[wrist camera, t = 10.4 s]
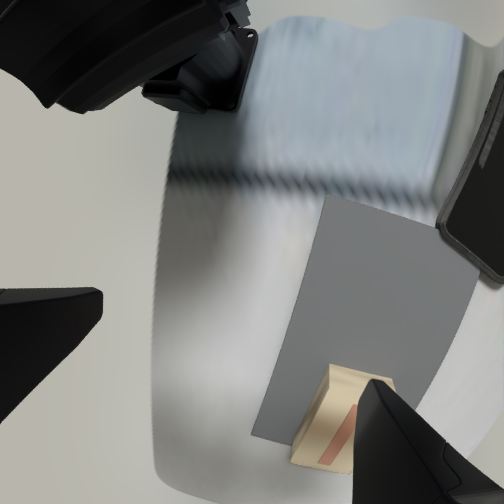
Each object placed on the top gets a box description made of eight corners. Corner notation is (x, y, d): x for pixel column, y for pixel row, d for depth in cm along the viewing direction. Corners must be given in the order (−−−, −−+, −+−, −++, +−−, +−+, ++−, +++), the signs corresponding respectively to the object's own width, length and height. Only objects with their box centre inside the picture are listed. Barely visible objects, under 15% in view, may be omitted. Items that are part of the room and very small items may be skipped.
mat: (326, 193, 19) (326, 193, 18) (484, 246, 17) (487, 247, 16) (252, 430, 23) (250, 434, 23) (378, 457, 21) (379, 461, 21)
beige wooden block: (348, 449, 21) (349, 475, 18) (293, 437, 22) (289, 463, 19) (391, 378, 19) (399, 403, 16) (329, 363, 20) (329, 388, 17)
